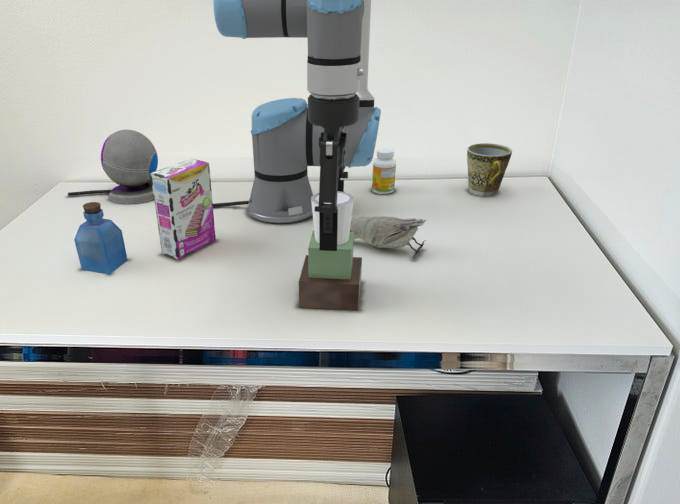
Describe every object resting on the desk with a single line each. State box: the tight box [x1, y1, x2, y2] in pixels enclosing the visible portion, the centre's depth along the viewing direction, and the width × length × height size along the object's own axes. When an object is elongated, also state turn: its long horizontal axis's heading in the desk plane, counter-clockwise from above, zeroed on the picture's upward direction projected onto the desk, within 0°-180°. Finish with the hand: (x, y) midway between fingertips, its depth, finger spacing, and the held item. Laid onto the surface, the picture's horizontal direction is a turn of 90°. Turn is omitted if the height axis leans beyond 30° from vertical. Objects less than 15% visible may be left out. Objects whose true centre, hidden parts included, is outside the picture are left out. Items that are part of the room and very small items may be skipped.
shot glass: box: [311, 191, 355, 245], centre depth 100 cm, size 7×7×7 cm
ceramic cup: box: [466, 142, 513, 197], centre depth 143 cm, size 13×10×10 cm
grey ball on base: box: [100, 129, 159, 205], centre depth 145 cm, size 13×13×15 cm
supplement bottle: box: [371, 147, 397, 195], centre depth 146 cm, size 5×5×10 cm
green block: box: [307, 229, 355, 280], centre depth 103 cm, size 7×7×6 cm
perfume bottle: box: [73, 201, 129, 275], centre depth 115 cm, size 6×6×12 cm
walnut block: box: [298, 254, 363, 311], centre depth 106 cm, size 10×10×5 cm
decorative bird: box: [350, 215, 427, 259], centre depth 120 cm, size 5×16×7 cm, turn 64°
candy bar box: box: [151, 158, 217, 261], centre depth 119 cm, size 11×5×16 cm, turn 145°
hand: (331, 232), depth 101 cm, fingers open, 12 cm apart
